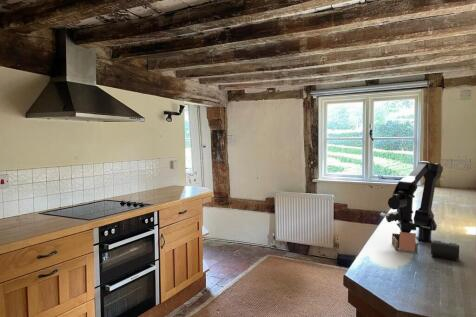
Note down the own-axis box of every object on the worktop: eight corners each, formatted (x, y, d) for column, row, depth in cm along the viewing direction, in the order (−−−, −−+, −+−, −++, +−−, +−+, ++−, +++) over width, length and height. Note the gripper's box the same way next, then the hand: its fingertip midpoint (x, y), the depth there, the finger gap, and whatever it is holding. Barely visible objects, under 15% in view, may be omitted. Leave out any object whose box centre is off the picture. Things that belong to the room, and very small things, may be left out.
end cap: (430, 258, 141) (431, 242, 141) (430, 253, 147) (431, 238, 147) (458, 263, 136) (459, 246, 135) (457, 258, 142) (458, 242, 141)
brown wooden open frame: (391, 243, 160) (392, 233, 160) (411, 245, 158) (412, 235, 157) (395, 250, 150) (396, 239, 149) (417, 252, 147) (417, 241, 147)
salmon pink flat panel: (398, 250, 149) (399, 231, 149) (415, 252, 147) (416, 233, 147) (398, 251, 148) (399, 232, 148) (415, 253, 146) (416, 233, 146)
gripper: (383, 202, 166) (382, 233, 166) (389, 209, 148) (388, 244, 148) (408, 204, 162) (406, 235, 163) (417, 212, 145) (415, 247, 145)
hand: (403, 240), depth 155 cm, fingers closed
